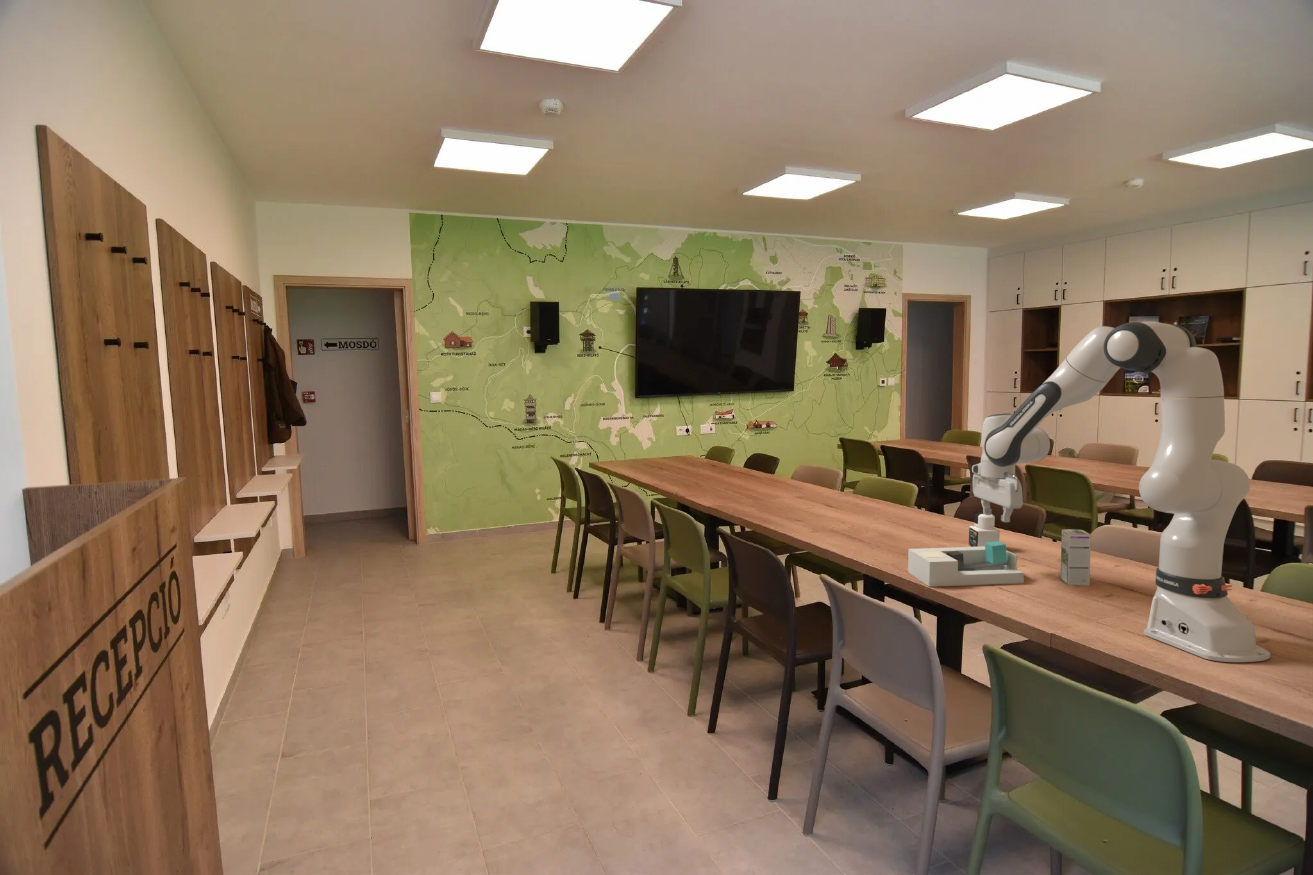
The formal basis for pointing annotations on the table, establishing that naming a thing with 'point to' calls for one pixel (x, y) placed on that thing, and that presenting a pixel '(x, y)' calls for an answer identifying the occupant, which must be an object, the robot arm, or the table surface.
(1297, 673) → the table surface
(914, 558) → the pocket board
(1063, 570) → the syrup box
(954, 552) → the ejector lever
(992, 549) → the teal block
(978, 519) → the medicine bottle
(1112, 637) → the table surface
